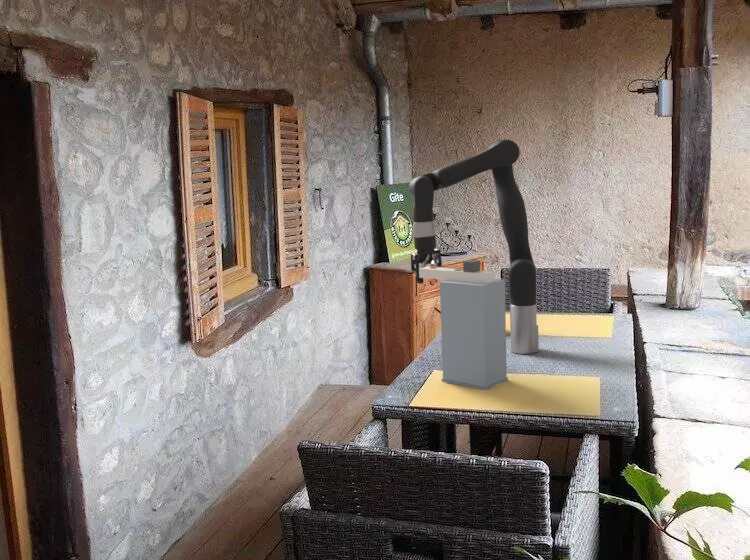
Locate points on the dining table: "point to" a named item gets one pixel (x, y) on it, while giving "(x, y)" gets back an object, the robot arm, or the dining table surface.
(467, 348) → the post
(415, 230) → the robot arm
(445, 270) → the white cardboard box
